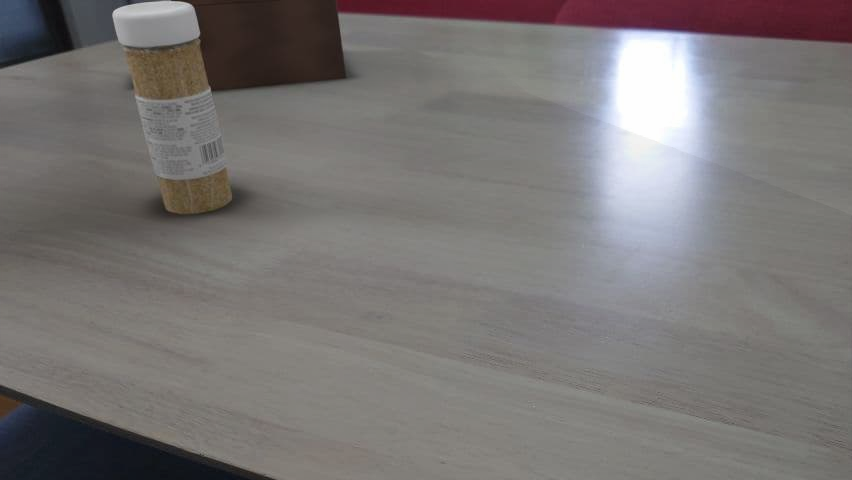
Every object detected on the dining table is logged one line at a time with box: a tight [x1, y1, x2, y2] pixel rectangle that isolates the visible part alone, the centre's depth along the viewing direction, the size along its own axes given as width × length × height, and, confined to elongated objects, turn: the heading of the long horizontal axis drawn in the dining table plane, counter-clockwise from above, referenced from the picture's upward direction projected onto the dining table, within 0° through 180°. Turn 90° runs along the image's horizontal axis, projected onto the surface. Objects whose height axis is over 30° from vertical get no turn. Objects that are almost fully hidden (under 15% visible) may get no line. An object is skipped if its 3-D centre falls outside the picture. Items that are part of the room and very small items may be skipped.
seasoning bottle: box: [111, 0, 233, 215], centre depth 52 cm, size 5×5×14 cm
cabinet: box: [171, 0, 347, 92], centre depth 83 cm, size 15×13×10 cm
